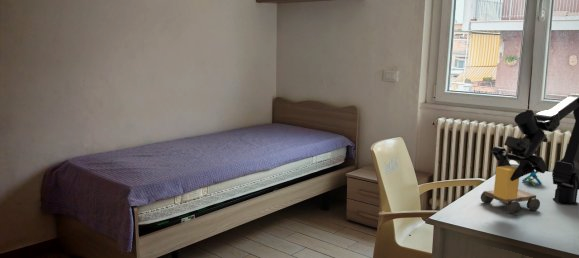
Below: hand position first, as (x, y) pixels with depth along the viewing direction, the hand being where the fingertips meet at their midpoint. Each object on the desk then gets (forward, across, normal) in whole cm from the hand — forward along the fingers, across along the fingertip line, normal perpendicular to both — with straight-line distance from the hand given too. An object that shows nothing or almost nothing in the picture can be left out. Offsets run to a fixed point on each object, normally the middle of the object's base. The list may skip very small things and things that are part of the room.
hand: (504, 178), depth 167 cm
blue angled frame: (-24, -24, +43) cm, 55 cm away
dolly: (+1, -6, +18) cm, 19 cm away
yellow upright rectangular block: (+4, 0, +6) cm, 7 cm away
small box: (-13, -24, +33) cm, 43 cm away
